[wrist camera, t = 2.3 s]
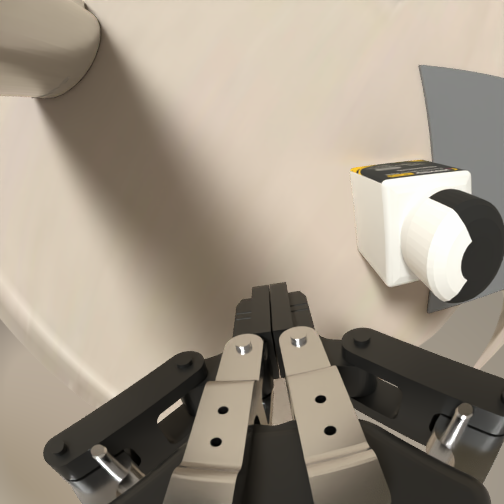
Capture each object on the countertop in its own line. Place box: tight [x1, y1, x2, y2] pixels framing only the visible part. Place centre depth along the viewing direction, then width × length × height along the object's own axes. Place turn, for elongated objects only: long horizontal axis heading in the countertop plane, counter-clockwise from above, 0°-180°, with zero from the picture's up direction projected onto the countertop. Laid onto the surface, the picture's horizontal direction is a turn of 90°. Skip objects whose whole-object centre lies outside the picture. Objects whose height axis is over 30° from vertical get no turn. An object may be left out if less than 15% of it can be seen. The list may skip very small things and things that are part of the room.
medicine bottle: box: [350, 160, 504, 303], centre depth 18 cm, size 7×7×12 cm
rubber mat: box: [419, 65, 504, 313], centre depth 22 cm, size 24×16×1 cm, turn 10°
